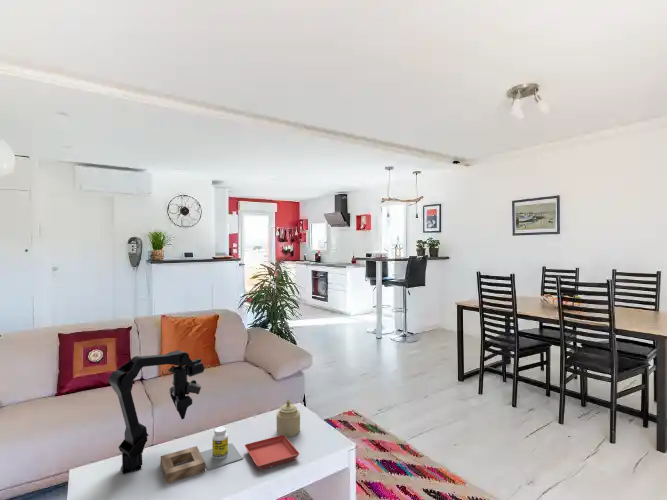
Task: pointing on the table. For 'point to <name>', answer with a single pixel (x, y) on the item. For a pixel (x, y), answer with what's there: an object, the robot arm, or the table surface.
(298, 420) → the sugar bowl
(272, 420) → the table surface
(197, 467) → the holder block
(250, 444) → the plant saucer
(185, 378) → the robot arm
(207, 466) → the slate mat
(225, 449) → the pill bottle
